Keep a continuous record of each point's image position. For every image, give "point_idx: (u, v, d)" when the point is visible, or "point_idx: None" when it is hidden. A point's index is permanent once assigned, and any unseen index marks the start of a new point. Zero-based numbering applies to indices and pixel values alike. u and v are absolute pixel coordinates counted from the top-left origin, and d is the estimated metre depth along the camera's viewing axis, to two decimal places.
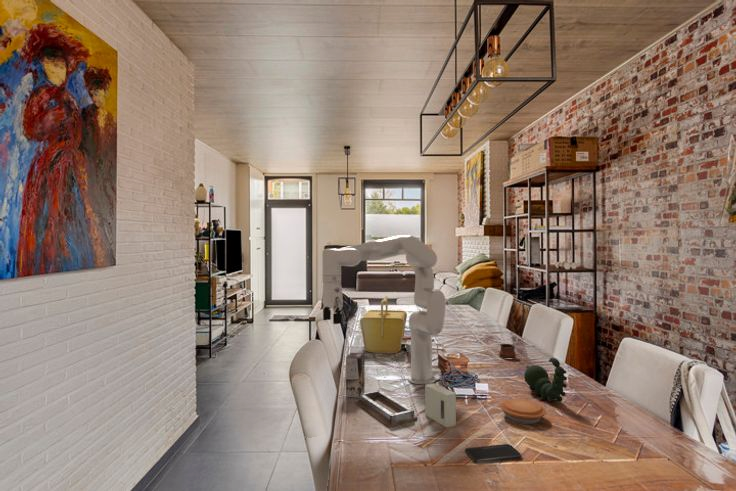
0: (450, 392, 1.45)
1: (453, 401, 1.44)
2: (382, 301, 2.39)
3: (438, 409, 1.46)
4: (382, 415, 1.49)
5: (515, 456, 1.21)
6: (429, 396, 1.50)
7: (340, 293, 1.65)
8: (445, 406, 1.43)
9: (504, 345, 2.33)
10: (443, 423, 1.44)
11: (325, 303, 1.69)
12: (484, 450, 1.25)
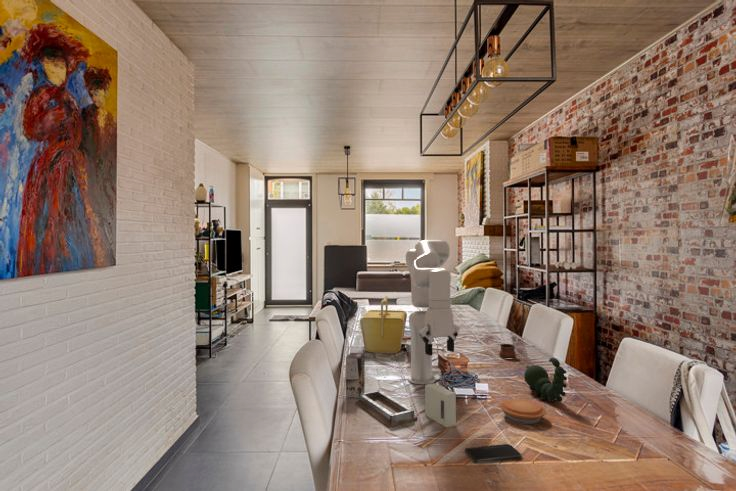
0: (450, 392, 1.45)
1: (453, 401, 1.44)
2: (382, 301, 2.39)
3: (438, 409, 1.46)
4: (382, 415, 1.49)
5: (515, 456, 1.21)
6: (429, 396, 1.50)
7: None
8: (445, 406, 1.43)
9: (504, 345, 2.33)
10: (443, 423, 1.44)
11: (440, 333, 1.46)
12: (484, 450, 1.25)
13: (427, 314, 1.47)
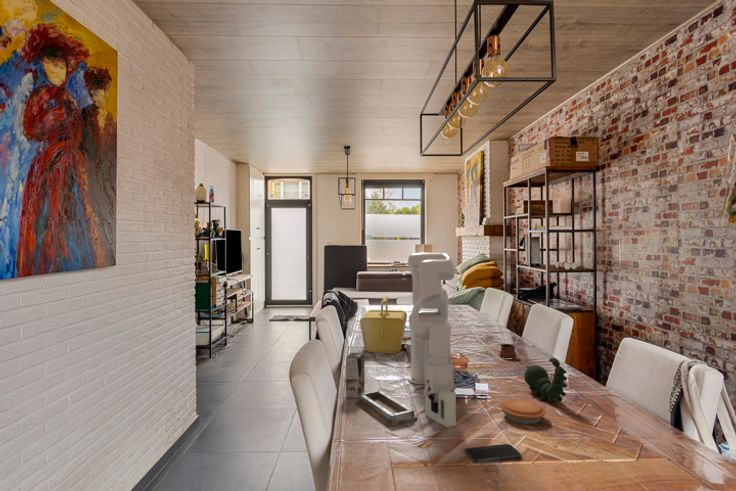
0: (450, 392, 1.45)
1: (453, 401, 1.44)
2: (382, 301, 2.39)
3: (438, 409, 1.46)
4: (382, 415, 1.49)
5: (515, 456, 1.21)
6: None
7: None
8: (445, 406, 1.43)
9: (504, 345, 2.33)
10: (443, 423, 1.44)
11: (440, 389, 1.46)
12: (484, 450, 1.25)
13: (427, 369, 1.47)
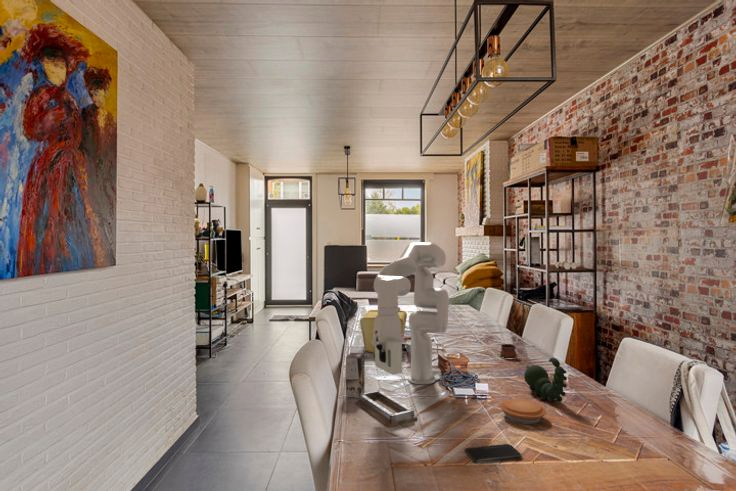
0: (397, 342, 1.52)
1: (400, 350, 1.51)
2: None
3: None
4: (382, 415, 1.49)
5: (515, 456, 1.21)
6: None
7: None
8: (391, 354, 1.50)
9: (506, 345, 2.32)
10: (390, 371, 1.51)
11: (387, 339, 1.53)
12: (484, 450, 1.25)
13: (375, 321, 1.54)
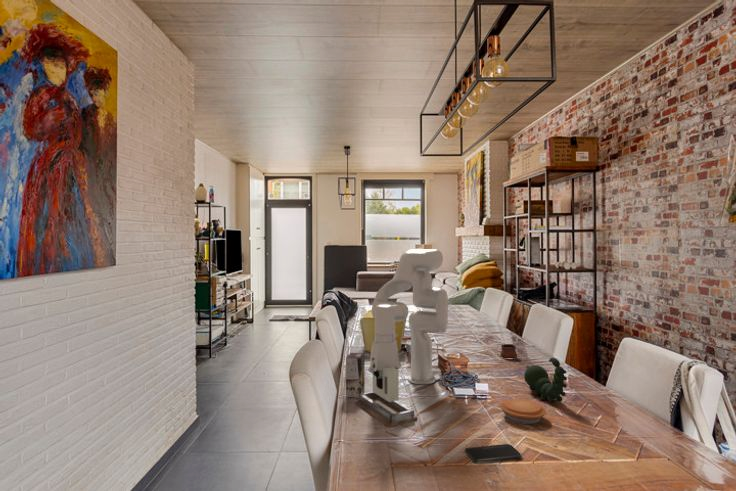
0: (393, 369, 1.52)
1: (396, 377, 1.51)
2: None
3: None
4: (382, 415, 1.49)
5: (515, 456, 1.21)
6: None
7: None
8: (388, 382, 1.50)
9: (507, 345, 2.32)
10: (387, 398, 1.51)
11: (384, 366, 1.53)
12: (484, 450, 1.25)
13: (372, 347, 1.54)
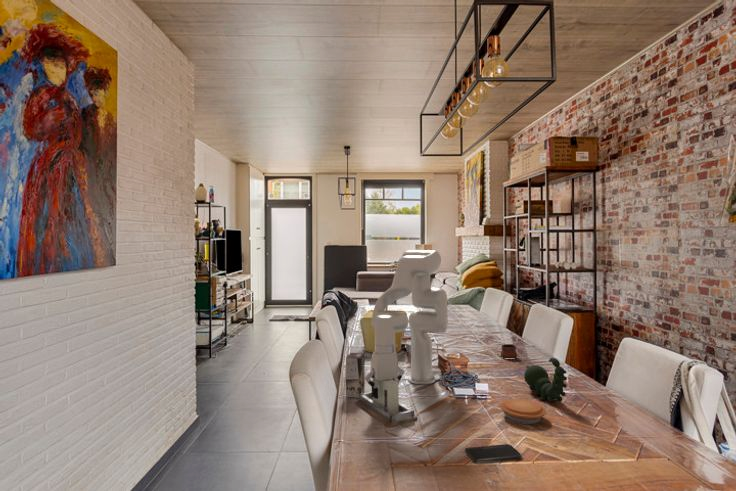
0: (393, 382, 1.53)
1: (396, 390, 1.51)
2: None
3: (382, 398, 1.54)
4: (382, 415, 1.49)
5: (515, 456, 1.21)
6: None
7: None
8: (388, 395, 1.50)
9: (508, 345, 2.32)
10: None
11: (384, 377, 1.53)
12: (484, 450, 1.25)
13: (372, 358, 1.54)
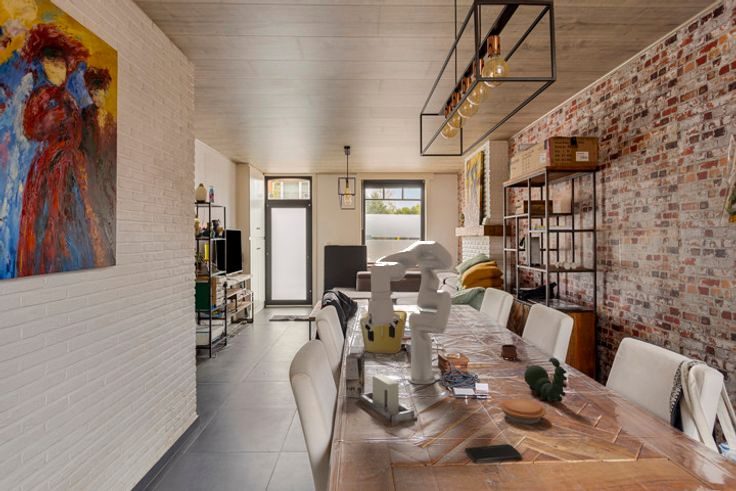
0: (393, 382, 1.53)
1: (396, 390, 1.51)
2: None
3: (382, 398, 1.54)
4: (382, 415, 1.49)
5: (515, 456, 1.21)
6: (375, 386, 1.58)
7: None
8: (388, 395, 1.50)
9: (509, 346, 2.31)
10: None
11: (381, 321, 1.62)
12: (484, 450, 1.25)
13: (369, 304, 1.62)
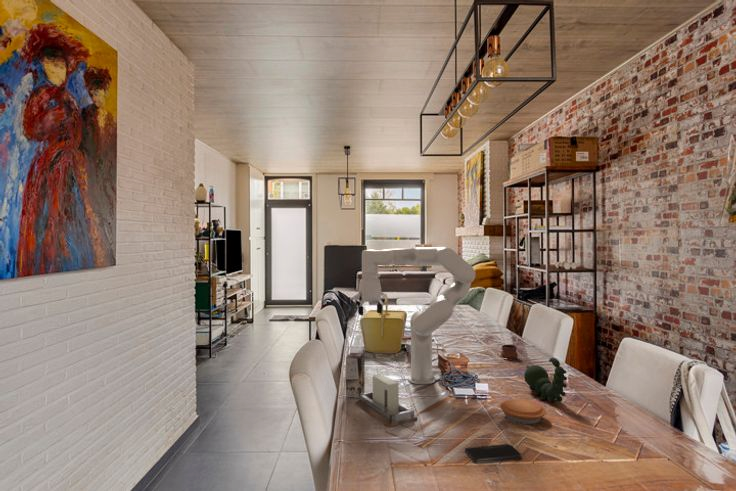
0: (393, 382, 1.53)
1: (396, 390, 1.51)
2: None
3: (382, 398, 1.54)
4: (382, 415, 1.49)
5: (515, 456, 1.21)
6: (375, 386, 1.58)
7: None
8: (388, 395, 1.50)
9: (510, 346, 2.31)
10: None
11: (369, 298, 1.89)
12: (484, 450, 1.25)
13: (360, 284, 1.90)
